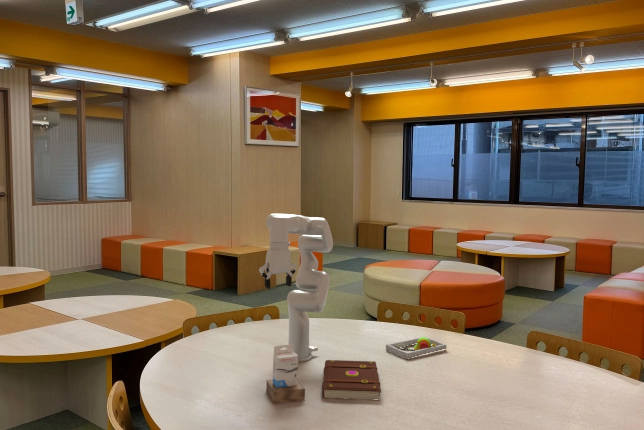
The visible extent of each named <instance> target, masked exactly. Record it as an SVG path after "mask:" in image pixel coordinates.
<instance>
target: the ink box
mask: <svg viewBox="0 0 644 430" xmlns="http://www.w3.org/2000/svg"><path fill="white" fill-rule="evenodd" d="M283 348H285V349H283ZM293 348H294V345H293V344H290V345H289V344H284V345H283V344H281V345H275V346H274V347H273V356H272V357H273V359H272V360H273V361H272V379H273V384H274V385H275V386H276V387H277V388H280V387H287V386H294V385H297V379H298V371H299V370H298V369H299V362H298V355H297V354H296V353H295V352H293Z"/></svg>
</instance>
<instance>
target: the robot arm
mask: <svg viewBox="0 0 644 430" xmlns="http://www.w3.org/2000/svg"><path fill="white" fill-rule="evenodd" d="M265 224H266V227H267V229H268V230H269V248H268V249H267V251H266V255H265V263H264V265H262V266H261V267H259V269H258V271H259V272H260V275H261V276H262V277H263V278H264V286H265V289H268V290H269V289H271V279H270V278H271V276H273V275H280V274H286V276H285V286H287V287H292V282H293V280H292V277H293V276H294V274H296V271H297V269H298V271H297V274H296V279H295V285H296V288H297V289H293V290H291V291H289V292H288V294H287V297H286V302H287V310H288V345H290V344H293V345H294V348H293V352H295V353H296V354H297V355H298V363H299V362H300V363H301V362H308V361H310V360H311V359H312V358H313V354H312V353H313V352H318V351H319V347H318V346H314V347H313V346H310V318H309V316H308V315H309V314H308V313H315V314H316V313H322V312H323V310H324V309H325V305H326V301H327V297H328V293H329V289H330V283H331V282H330V281H331V279H330V275H329V274H328V273H327V272H326V271H323V270H318V267H319V261H318V259H317V257H316V255H315V254H314V253H330V252H331V251H332V250H333V247H334V238H333V236H332V232H331V228H330V225H329V223H328V220H326V218H324V217H313V216H312V217H311V216H310V217H309V216H305V215H300V214H298V215H297V214H292V213H291V214H290V213H289V214H288V213H270V214H269V215H268V216H267V218H266V220H265ZM289 234H291V235H300V236H299V237H298V238H297V239H298V240H297V246H298V252H299V255H300V265H299V268H298V265H297V264H294V263H293V262H292V260H291V259H292V258H291V252H290V248H289V246H291V244H292V243H291V242H289ZM313 252H314V253H313Z"/></svg>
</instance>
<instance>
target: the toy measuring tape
mask: <svg viewBox="0 0 644 430" xmlns="http://www.w3.org/2000/svg"><path fill="white" fill-rule="evenodd" d="M420 337H421V338H420ZM420 337H418V338H419V339H418V341H417V344H416V345H413V347H409V348H410V349H409V350H411V349H414V350H420V349H425V348H429V347H436V345H435V343H433V345H432V346H431V342H430V340H429V339H428V338H429V337H428V338H426V337H427V336H420ZM396 348H399V346H396ZM404 348H405V347H403V348H399V349H400V350H405V349H404ZM414 350H413V351H414Z"/></svg>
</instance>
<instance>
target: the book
mask: <svg viewBox="0 0 644 430" xmlns="http://www.w3.org/2000/svg"><path fill="white" fill-rule="evenodd" d="M377 366H378V365H377V362H376V361H371V360H369V361H368V360H345V359H343V360H342V359H341V360H339V359H335V360H334V359H326V360H325V361H324V368H323V381H322V386H321V387H322V392H321V393H322V394H321V395H322V398H323V399H328V398H336V399H335V400H345V399H344V398H348V399H347V400H356V399H379V396H380V393H381V391H382V389H381V382H380V378H379V372H378V371H379V370H378V367H377Z"/></svg>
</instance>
